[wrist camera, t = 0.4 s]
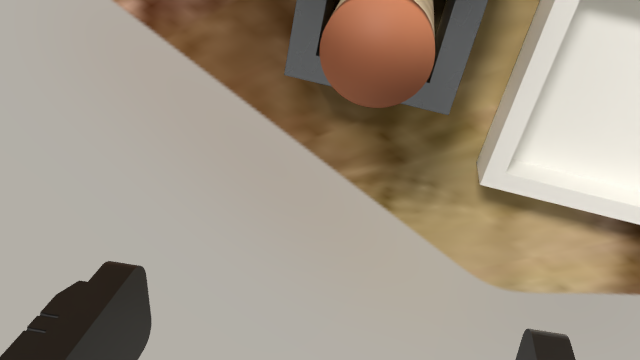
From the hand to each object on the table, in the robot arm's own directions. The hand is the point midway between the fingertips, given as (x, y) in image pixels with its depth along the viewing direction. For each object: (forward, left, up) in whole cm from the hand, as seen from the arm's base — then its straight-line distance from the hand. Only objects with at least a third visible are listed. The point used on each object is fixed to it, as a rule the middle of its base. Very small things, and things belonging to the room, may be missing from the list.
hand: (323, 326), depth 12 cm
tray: (0, +13, -21) cm, 24 cm away
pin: (-2, 0, -21) cm, 21 cm away
